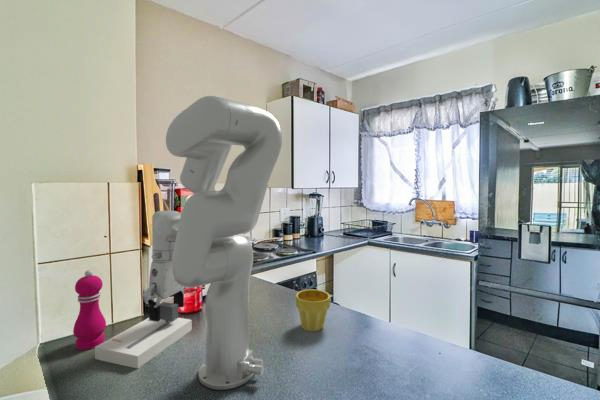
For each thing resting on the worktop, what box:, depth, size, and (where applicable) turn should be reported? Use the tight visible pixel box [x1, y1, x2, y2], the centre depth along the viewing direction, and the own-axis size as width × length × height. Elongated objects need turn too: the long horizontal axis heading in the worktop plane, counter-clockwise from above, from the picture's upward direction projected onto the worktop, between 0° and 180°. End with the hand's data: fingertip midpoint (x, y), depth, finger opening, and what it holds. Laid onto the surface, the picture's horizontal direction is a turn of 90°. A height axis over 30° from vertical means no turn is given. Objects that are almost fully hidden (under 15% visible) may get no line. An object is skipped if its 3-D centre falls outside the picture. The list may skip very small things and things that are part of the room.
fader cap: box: [159, 301, 179, 323], centre depth 87 cm, size 5×2×5 cm, turn 73°
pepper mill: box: [72, 269, 107, 351], centre depth 81 cm, size 7×7×20 cm
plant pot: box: [295, 289, 331, 332], centre depth 93 cm, size 10×10×10 cm
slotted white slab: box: [94, 317, 193, 369], centre depth 82 cm, size 13×20×3 cm, turn 163°
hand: (167, 313), depth 87 cm, fingers open, 9 cm apart
